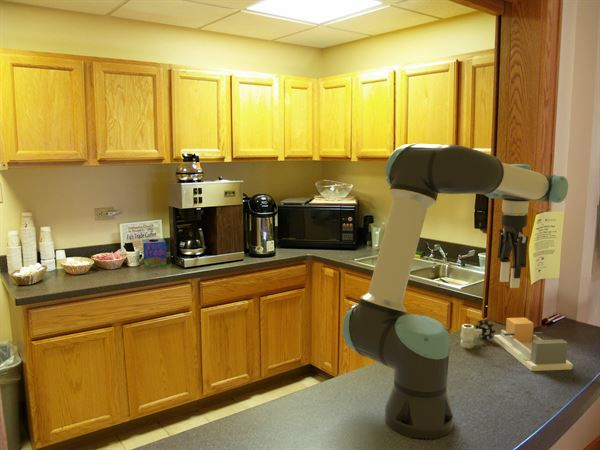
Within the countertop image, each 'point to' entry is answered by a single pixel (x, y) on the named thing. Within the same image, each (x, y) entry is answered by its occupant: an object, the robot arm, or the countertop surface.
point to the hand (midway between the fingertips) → (509, 284)
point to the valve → (475, 333)
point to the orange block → (520, 329)
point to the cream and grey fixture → (537, 352)
